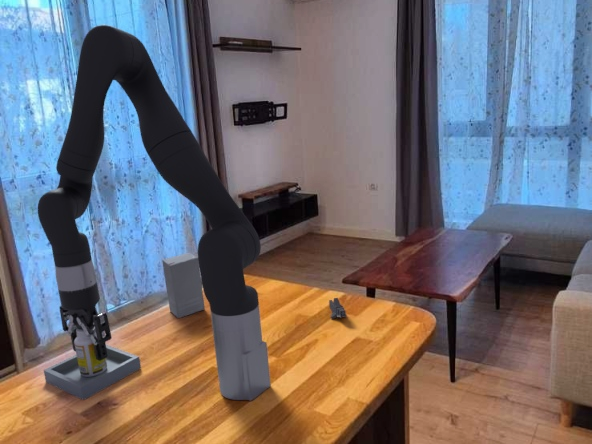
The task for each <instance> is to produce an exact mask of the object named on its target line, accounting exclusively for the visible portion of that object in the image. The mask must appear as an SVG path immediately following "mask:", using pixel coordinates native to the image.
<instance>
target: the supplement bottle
mask: <svg viewBox="0 0 592 444" xmlns="http://www.w3.org/2000/svg"><path fill="white" fill-rule="evenodd" d="M93 329H95V327H94V328H92V329H90V330H93ZM76 332H77V337H76V338H75V340H74V344H75V349H76V352H75V355H77V360H78V365H79V370H80V374H81V375H82V376H84V377H93V376H97V375H99V374H101V373H103V372H104V371H105V370H106V369H107V362H106V358H105V359H103V360H101V361H99V360H97V359H96V355H95V349H94V343H93V341H92V339H91V338H90V337H88V336H87V335H86V334H85V332H84V331H83V330H82V329H77V330H76ZM95 336H96V338H97V335H96V333H95Z"/></svg>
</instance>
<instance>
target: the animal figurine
mask: <svg viewBox="0 0 592 444" xmlns="http://www.w3.org/2000/svg"><path fill="white" fill-rule="evenodd" d="M328 303H329V309H330V310H331V316H330V319H331V320H334V319H336V318H346V317H347V316H348V314H346V310H345V308H344V306H343V305H342V304H341V303H340V301H339V298H338V297H334V298H333V300H332V299H330V300H329V301H328Z"/></svg>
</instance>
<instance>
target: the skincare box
mask: <svg viewBox="0 0 592 444" xmlns="http://www.w3.org/2000/svg"><path fill="white" fill-rule="evenodd" d="M161 262H162V268H163V276H164V281H165V287H166V294H167V299H168V300H167V301H168V306H169V311H170V313H171V314H172V315H174V316H175V317H176V318H177V319H181V318H183V317H186V316H189V315H192V314H195V313H198V312H200V311H203V310H206V309H205V301H204V294H203V293H204V291H203V285H202V279H201V273H200V268H199V261H198V256H196V255H194V254H192V253H191V252H186V253H182V254H179V255H174V256H171V257H167V258H163V259H161Z"/></svg>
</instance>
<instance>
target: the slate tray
mask: <svg viewBox="0 0 592 444" xmlns="http://www.w3.org/2000/svg"><path fill="white" fill-rule="evenodd" d="M106 350H107V357H106V362H107V369H106V370H105V371H104V372H103V373H101V374H99V375H97V376H93V377H84V376H82V375H81V374H80V370H79V365H78V360H77V355H76V354H75V355H73V356H70V357H69V358H66V359H64V360H62V361H60V362H58V363H55V364H53V365H51V366H50V367H47V368H45V369H43V375H44V379H45V382H46V384H47V383H48V384H49V385H52V386H53V387H55V388H58V389H59V390H61V391H63V392H65V393H68V394H70V395H72V396H73V397H75V398H78V399H80V400H82V401H85V400H86V399H88V398H90V397H92V396H93V395H95V394H97V393H99V392H101V391H103V390H104V389H106V388H108V387H110V386H112V385H114V384H115V383H117V382H119V381H120V380H122V379H125V378H126V377H127V376H130V375H131V374H133V373H135V372H137V371H138V370H141V369H142V367H141V359H140V356H139V355H136V354H133V353H130V352H128V351H125V350H122V349H119V348H116V347H114V346H111V345H109V344H106Z"/></svg>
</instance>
